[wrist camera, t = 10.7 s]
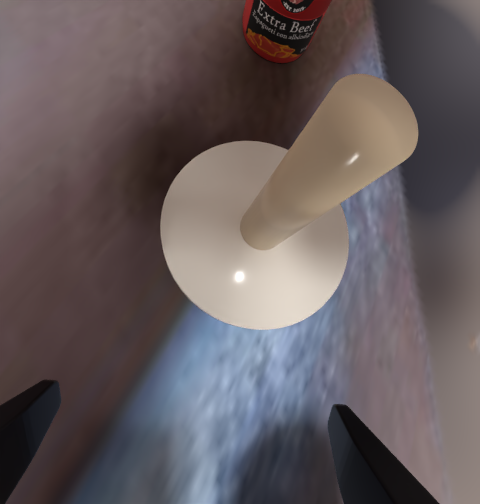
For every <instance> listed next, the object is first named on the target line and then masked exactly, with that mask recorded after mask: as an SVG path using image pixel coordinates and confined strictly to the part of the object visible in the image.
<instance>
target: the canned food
mask: <svg viewBox="0 0 480 504" xmlns="http://www.w3.org/2000/svg"><path fill="white" fill-rule="evenodd" d="M331 1H332V0H246V3H245V8H244V12H243V18H242V19H243V33H244V36H245V39H246V41H247V43H248V44H249V46H250V47H251V48H252V49H253V50H254V51H255V52H256V53H257V54H258V55H260V56H261V57H263V58H265V59H267V60H269V61H272V62H276V63H288V62H292V61H294V60H296V59H298V58H299V57H300V56H301V55H302V54H303V53H304V52H305V51H306V49H307V48H308V46H309V44H310V42H311V40H312V38H313V36H314V34H315V32H316V30H317V28H318V26H319V24H320V22H321V20H322V18H323V16H324V14H325V13H326V11H327V9H328V7H329V5H330V3H331Z"/></svg>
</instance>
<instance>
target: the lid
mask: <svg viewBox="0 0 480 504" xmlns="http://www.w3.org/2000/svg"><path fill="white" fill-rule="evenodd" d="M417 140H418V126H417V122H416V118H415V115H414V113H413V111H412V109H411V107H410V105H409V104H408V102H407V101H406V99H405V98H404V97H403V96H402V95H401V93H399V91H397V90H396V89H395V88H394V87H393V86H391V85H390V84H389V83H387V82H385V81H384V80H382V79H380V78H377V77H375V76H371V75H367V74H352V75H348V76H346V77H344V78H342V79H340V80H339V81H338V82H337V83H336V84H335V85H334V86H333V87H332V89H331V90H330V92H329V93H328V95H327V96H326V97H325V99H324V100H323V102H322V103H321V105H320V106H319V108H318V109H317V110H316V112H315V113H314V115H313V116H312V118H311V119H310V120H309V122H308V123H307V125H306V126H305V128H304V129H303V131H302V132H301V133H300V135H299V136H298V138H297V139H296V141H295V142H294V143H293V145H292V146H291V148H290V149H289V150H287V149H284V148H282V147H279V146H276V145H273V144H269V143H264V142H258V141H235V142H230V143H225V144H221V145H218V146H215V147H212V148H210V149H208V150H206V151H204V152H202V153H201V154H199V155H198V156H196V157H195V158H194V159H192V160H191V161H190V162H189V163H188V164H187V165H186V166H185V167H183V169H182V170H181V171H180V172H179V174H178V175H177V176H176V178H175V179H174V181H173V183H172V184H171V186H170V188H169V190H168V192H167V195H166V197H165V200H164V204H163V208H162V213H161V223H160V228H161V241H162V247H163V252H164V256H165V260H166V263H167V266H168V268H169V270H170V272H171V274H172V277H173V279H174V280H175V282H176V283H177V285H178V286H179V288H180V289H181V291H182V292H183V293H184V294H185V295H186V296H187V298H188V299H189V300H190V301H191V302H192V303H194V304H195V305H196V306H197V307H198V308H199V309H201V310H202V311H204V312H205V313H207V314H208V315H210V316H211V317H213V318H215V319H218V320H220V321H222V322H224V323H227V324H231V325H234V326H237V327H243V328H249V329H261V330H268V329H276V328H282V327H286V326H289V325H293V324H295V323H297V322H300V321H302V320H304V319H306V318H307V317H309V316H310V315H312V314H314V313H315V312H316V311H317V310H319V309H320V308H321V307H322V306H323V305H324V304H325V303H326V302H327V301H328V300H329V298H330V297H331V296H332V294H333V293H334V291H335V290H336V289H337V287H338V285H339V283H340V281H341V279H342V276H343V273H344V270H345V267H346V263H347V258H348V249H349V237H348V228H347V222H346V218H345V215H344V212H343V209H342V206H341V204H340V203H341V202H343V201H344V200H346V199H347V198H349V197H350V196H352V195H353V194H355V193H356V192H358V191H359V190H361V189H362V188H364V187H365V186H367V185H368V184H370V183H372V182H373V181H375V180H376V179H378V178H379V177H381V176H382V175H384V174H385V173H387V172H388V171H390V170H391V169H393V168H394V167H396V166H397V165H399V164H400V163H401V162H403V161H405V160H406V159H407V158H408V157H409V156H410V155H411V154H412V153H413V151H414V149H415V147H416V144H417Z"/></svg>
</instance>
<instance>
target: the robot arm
mask: <svg viewBox="0 0 480 504" xmlns="http://www.w3.org/2000/svg"><path fill="white" fill-rule="evenodd" d="M60 404H61V395H60V388H59V383H58V381H56V380H43V381H41V382H39V383H37V384H35V385H34V386H32V387H30V388H29V389H27V390H25V391H24V392H22V393H20V394H19V395H17V396H15V397H14V398H12V399H10V400H9V401H7V402H5V403H4V404H2V405H0V504H5V503H6V501H7V500H8V498H9V496H10V495H11V493H12V492H13V490H14V489H15V487H16V485H17V484H18V482H19V481H20V479H21V477H22V476H23V474H24V473H25V471H26V469H27V468H28V466H29V464H30V463H31V461H32V459H33V457H34V456H35V454H36V452H37V450H38V448H39V446H40V444H41V442H42V440H43V438H44V436H45V434H46V432H47V431H48V429H49V427H50V425H51V423H52V421H53V419H54V417H55V415H56V413H57V411H58V409H59V407H60ZM328 432H329V437H330V443H331V448H332V453H333V458H334V464H335V469H336V474H337V479H338V484H339V488H340V491H341V495H342V499H343V502H344V504H439V503H438V502H437V500H436V499H435V498H434V497H433V496H432V495H431V494H430V493H429V492H428V491H427V490H426V489H425V488H424V487H423V486H422V485H421V483H420V482H419V481H418V480H417V479H416V478H415V477H414V476H413V475H412V474H411V473H410V472H409V471H408V470H407V469H406V468H405V466H404V465H403V464H402V463H401V462H400V461H399V460H398V459H397V458H396V457H395V456H394V455H393V454H392V453H391V452H390V451H389V450H388V448H387V447H386V446H385V445H384V444H383V443H382V442H381V441H380V440H379V439H378V438H377V437H376V436H375V435H374V434H373V433H372V431H371V430H370V429H369V428H368V427H367V426H366V425H365V424H364V423H363V422H362V421H361V420H360V419H359V418H358V417H357V416H356V415H355V413H354V412H353V411H352V410H351V409H350V408H349V407H348V406H346V405H344V404H334V405H333V406H332V409H331V413H330V416H329V420H328Z"/></svg>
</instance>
